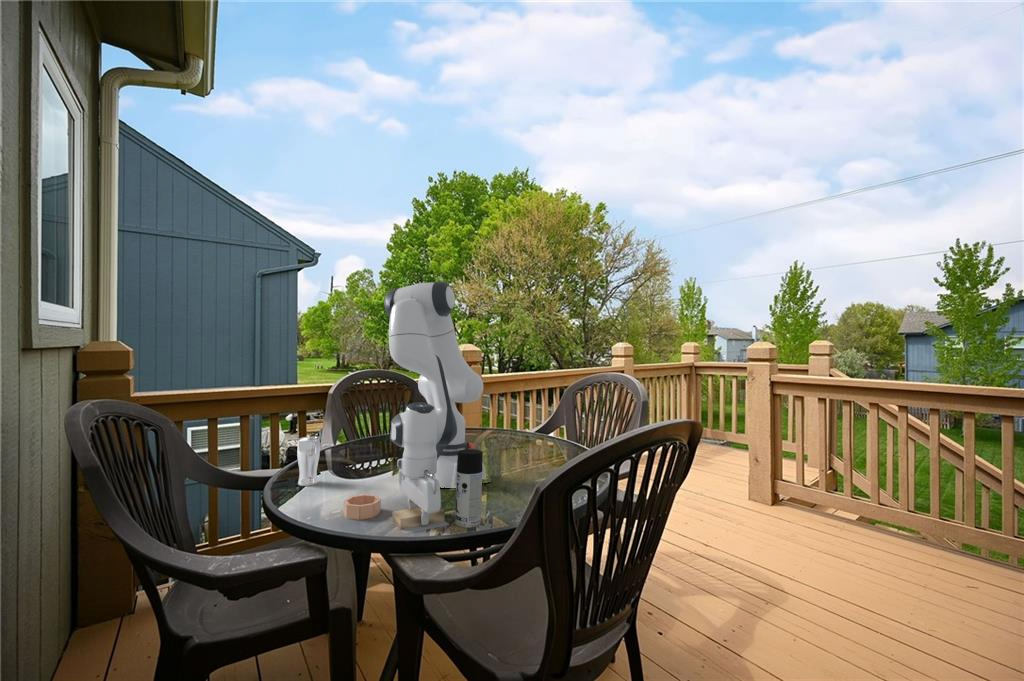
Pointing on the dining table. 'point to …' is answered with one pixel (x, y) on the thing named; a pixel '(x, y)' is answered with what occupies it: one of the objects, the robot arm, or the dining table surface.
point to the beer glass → (308, 460)
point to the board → (414, 517)
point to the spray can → (469, 488)
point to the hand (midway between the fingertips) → (418, 519)
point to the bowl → (362, 507)
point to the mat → (423, 527)
